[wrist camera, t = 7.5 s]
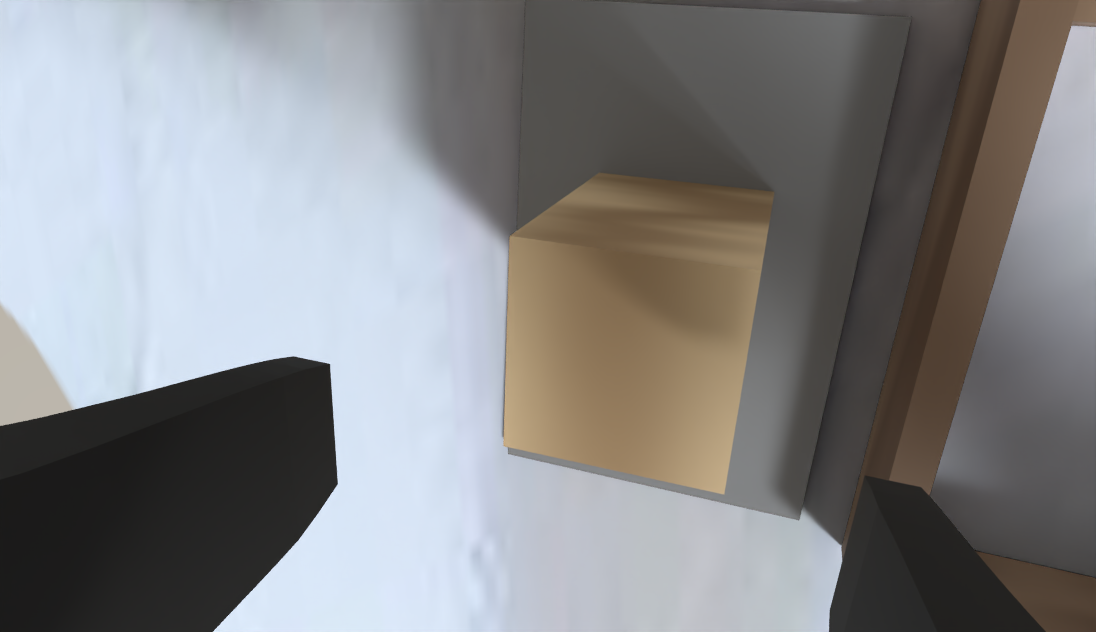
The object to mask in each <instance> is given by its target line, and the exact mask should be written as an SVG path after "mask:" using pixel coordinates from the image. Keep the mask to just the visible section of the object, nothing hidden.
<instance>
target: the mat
mask: <svg viewBox="0 0 1096 632" xmlns="http://www.w3.org/2000/svg"><path fill="white" fill-rule="evenodd" d="M911 19H912V17H905V16H885V15H866V14H846V13H827V12H808V11H788V10H769V9H749V8H730V7H711V6H691V5H672V4H652V3H633V2H614V1H594V0H526V1H525V27H524V53H523V78H522V104H521V130H520V156H519V182H518V208H517V230H519V229H520V228H522V227H523V226H524V225H526V224H527V223H529V222H530V221H532V220H533V219H534V218H536V217H537V216H539V215H540V214H541V213H543V212H544V211H546V210H547V209H549V208H550V207H551V206H553V205H554V204H556V203H557V202H558V201H560V200H561V199H563V198H564V197H566V196H567V195H568V194H570V193H571V192H573V191H574V190H575V189H577V188H578V187H580V186H581V185H583V184H584V183H585V182H587V181H588V180H590V179H591V178H592V177H594V176H595V175H597V174H598V173H607V174H616V175H625V176H634V177H644V178H653V179H662V180H671V181H680V182H690V183H699V184H708V185H717V186H726V187H736V188H745V189H754V190H763V191H772V192H774V198H773V204H772V210H771V216H770V222H769V228H768V234H767V240H766V246H765V252H764V258H763V264H762V270H761V276H760V282H759V288H758V294H757V300H756V307H755V313H754V319H753V325H752V331H751V337H750V343H749V349H748V355H747V361H746V367H745V373H744V379H743V385H742V391H741V397H740V403H739V409H738V415H737V421H736V427H735V433H734V439H733V445H732V451H731V457H730V463H729V469H728V475H727V481H726V487H725V493H724V494H719V493H715V492H710V491H706V490H701V489H696V488H692V487H687V486H683V485H678V484H674V483H669V482H665V481H660V480H655V479H651V478H646V477H642V476H637V475H633V474H628V473H624V472H619V471H614V470H610V469H605V468H601V467H596V466H592V465H587V464H583V463H578V462H573V461H569V460H564V459H560V458H555V457H551V456H546V455H542V454H537V453H532V452H528V451H523V450H519V449H514V448H510V447H508V454H511V455H515V456H519V457H524V458H528V459H533V460H537V461H541V462H546V463H550V464H554V465H559V466H563V467H568V468H572V469H576V470H581V471H585V472H590V473H594V474H598V475H603V476H607V477H611V478H616V479H620V480H625V481H629V482H633V483H638V484H642V485H647V486H651V487H655V488H660V489H664V490H668V491H673V492H677V493H682V494H686V495H690V496H695V497H699V498H703V499H708V500H712V501H717V502H721V503H725V504H730V505H734V506H739V507H743V508H747V509H752V510H756V511H760V512H765V513H769V514H774V515H778V516H782V517H787V518H791V519H796V520H799V519H800V515H801V510H802V506H803V501H804V497H805V493H806V488H807V484H808V479H809V475H810V470H811V466H812V461H813V457H814V452H815V448H816V443H817V439H818V434H819V430H820V426H821V421H822V417H823V412H824V408H825V403H826V399H827V394H828V390H829V385H830V381H831V376H832V372H833V368H834V363H835V359H836V354H837V350H838V345H839V341H840V336H841V332H842V327H843V323H844V318H845V314H846V310H847V305H848V301H849V296H850V292H851V287H852V283H853V278H854V274H855V269H856V265H857V260H858V256H859V252H860V247H861V243H862V238H863V234H864V229H865V225H866V220H867V216H868V211H869V207H870V202H871V198H872V193H873V189H874V185H875V180H876V176H877V171H878V167H879V162H880V158H881V153H882V149H883V144H884V140H885V135H886V131H887V127H888V122H889V118H890V113H891V109H892V104H893V100H894V95H895V91H896V86H897V82H898V77H899V73H900V69H901V64H902V60H903V55H904V51H905V46H906V42H907V37H908V33H909V28H910V24H911Z"/></svg>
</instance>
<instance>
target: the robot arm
mask: <svg viewBox="0 0 1096 632" xmlns="http://www.w3.org/2000/svg"><path fill="white" fill-rule="evenodd" d="M337 484H338V481H337V466H336V451H335V436H334V420H333V405H332V390H331V374H330V364H327V363H323V362H318V361H313V360H308V359H303V358H298V357H294V356H293V357H286V358H279V359H273V360H268V361H263V362H259V363H254V364H250V365H246V366H241V367H237V368H233V369H230V370H226V371H222V372H218V373H214V374H210V375H207V376H203V377H199V378H195V379H192V380H188V381H184V382H181V383H177V384H173V385H169V386H166V387H162V388H158V389H155V390H151V391H147V392H143V393H140V394H136V395H132V396H128V397H124V398H120V399H116V400H112V401H108V402H104V403H99V404H95V405H91V406H87V407H83V408H79V409H75V410H71V411H67V412H63V413H59V414H54V415H50V416H47V417H42V418H37V419H33V420H28V421H23V422H18V423H13V424H9V425H4V426H0V632H213V631H214V630H215V629H216V628H217V627H218V626H219V625H220V623H221V622H222V621H223V620H224V619H225V618H226V617H227V616H228V615H229V614H230V613H231V612H232V611H233V610H234V609H235V608H236V607H237V606H238V605H239V603H240V602H241V601H242V600H243V599H244V598H245V597H246V596H247V595H248V594H249V593H250V592H251V591H252V590H253V589H254V588H255V587H256V586H257V584H258V583H259V582H260V581H261V580H262V579H263V578H264V577H265V576H266V575H267V574H268V573H269V572H270V571H271V569H272V568H273V567H274V566H275V565H276V564H277V563H278V562H279V561H280V560H281V559H282V558H283V556H284V555H285V554H286V553H287V552H288V551H289V550H290V549H291V548H292V547H293V545H294V544H295V543H296V542H297V541H298V540H299V538H300V537H301V536H302V534H303V533H304V532H305V530H306V529H307V528H308V526H309V525H310V524H311V522H312V521H313V520H314V518H315V517H316V515H317V514H318V513H319V511H320V510H321V508H322V507H323V505H324V504H325V502H326V501H327V499H328V498H329V496H330V495H331V493H332V492H333V490H334V489H335V487H336V486H337ZM829 632H1046V631H1045V630H1044V629H1043V628H1042V627H1041V626H1040V625H1039V624H1038V623H1037V621H1036V620H1035V619H1034V618H1033V617H1032V616H1031V615H1030V614H1029V613H1028V611H1027V610H1026V609H1025V608H1024V607H1023V606H1022V605H1021V604H1020V603H1019V601H1018V600H1017V599H1016V598H1015V597H1014V596H1013V595H1012V593H1011V592H1010V591H1009V590H1008V589H1007V588H1006V587H1005V585H1004V584H1003V583H1002V582H1001V581H1000V580H999V579H998V577H997V576H996V575H995V574H994V573H993V572H992V570H991V569H990V568H989V567H988V566H987V565H986V563H985V562H984V561H983V560H982V559H981V557H980V556H979V555H978V554H977V553H976V551H975V550H974V549H973V548H972V547H971V545H970V544H969V543H968V542H967V541H966V539H965V538H964V537H963V536H962V535H961V533H960V532H959V531H958V530H957V529H956V527H955V526H954V525H953V524H952V523H951V521H950V520H949V519H948V518H947V516H946V515H945V514H944V513H943V512H942V510H941V509H940V508H939V507H938V506H937V504H936V503H935V502H934V501H933V500H932V499H931V497H930V496H929V495H928V494H927V493H926V492H925V491H924V490H923V488H922V487H919V486H914V485H909V484H904V483H899V482H894V481H890V480H885V479H880V478H875V477H870V476H866V475H865V476H864V480H863V484H862V488H861V491H860V495H859V499H858V503H857V507H856V511H855V515H854V519H853V523H852V526H851V530H850V534H849V538H848V542H847V546H846V550H845V554H844V557H843V561H842V565H841V569H840V573H839V577H838V581H837V585H836V588H835V592H834V596H833V600H832V604H831V608H830V619H829Z"/></svg>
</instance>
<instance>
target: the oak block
mask: <svg viewBox="0 0 1096 632" xmlns="http://www.w3.org/2000/svg"><path fill="white" fill-rule="evenodd" d="M773 198H774V192H772V191H763V190H754V189H745V188H736V187H726V186H717V185H708V184H699V183H690V182H680V181H671V180H662V179H653V178H644V177H634V176H625V175H616V174H607V173H598V174H597V175H595V176H594V177H592V178H591V179H590V180H588V181H587V182H585V183H584V184H583V185H581V186H580V187H578V188H577V189H575V190H574V191H573V192H571V193H570V194H568V195H567V196H566V197H564V198H563V199H561V200H560V201H558V202H557V203H556V204H554V205H553V206H551V207H550V208H549V209H547V210H546V211H544V212H543V213H541V214H540V215H539V216H537V217H536V218H534V219H533V220H532V221H530V222H529V223H527V224H526V225H524V226H523V227H522V228H520V229H519V230H517V231H516V232H515V233H513V234H512V235H510V237H509V271H508V306H507V341H506V376H505V411H504V446H505V447H510V448H514V449H519V450H523V451H528V452H532V453H537V454H542V455H546V456H551V457H555V458H560V459H564V460H569V461H573V462H578V463H583V464H587V465H592V466H596V467H601V468H605V469H610V470H614V471H619V472H624V473H628V474H633V475H637V476H642V477H646V478H651V479H655V480H660V481H665V482H669V483H674V484H678V485H683V486H687V487H692V488H696V489H701V490H706V491H710V492H715V493H719V494H724V493H725V487H726V481H727V475H728V469H729V463H730V457H731V451H732V445H733V439H734V433H735V427H736V421H737V415H738V409H739V403H740V397H741V391H742V385H743V379H744V373H745V367H746V361H747V355H748V349H749V343H750V337H751V331H752V325H753V319H754V313H755V307H756V300H757V294H758V288H759V282H760V276H761V270H762V264H763V258H764V252H765V246H766V240H767V234H768V228H769V222H770V216H771V210H772V204H773Z"/></svg>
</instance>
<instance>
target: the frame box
mask: <svg viewBox="0 0 1096 632" xmlns="http://www.w3.org/2000/svg"><path fill="white" fill-rule="evenodd" d="M1071 26H1089V27H1096V0H981V2H980V6H979V10H978V14H977V18H976V21H975V25H974V29H973V33H972V37H971V41H970V45H969V49H968V53H967V57H966V61H965V65H964V69H963V72H962V76H961V80H960V84H959V88H958V92H957V96H956V100H955V104H954V108H953V112H952V116H951V119H950V123H949V127H948V131H947V135H946V139H945V143H944V147H943V151H942V155H941V159H940V163H939V167H938V170H937V174H936V178H935V182H934V186H933V190H932V194H931V198H930V202H929V206H928V210H927V214H926V218H925V221H924V225H923V229H922V233H921V237H920V241H919V245H918V249H917V253H916V257H915V261H914V265H913V269H912V272H911V276H910V280H909V284H908V288H907V292H906V296H905V300H904V304H903V308H902V312H901V316H900V320H899V323H898V327H897V331H896V335H895V339H894V343H893V347H892V351H891V355H890V359H889V363H888V367H887V370H886V374H885V378H884V382H883V386H882V390H881V394H880V398H879V402H878V406H877V410H876V414H875V418H874V421H873V425H872V429H871V433H870V437H869V441H868V445H867V449H866V453H865V457H864V461H863V465H862V469H861V472H860V476H859V480H858V484H857V488H856V492H855V496H854V500H853V504H852V508H851V512H850V516H849V520H848V523H847V527H846V531H845V535H844V539H843V543H842V547H841V548H842V561H843V557H844V554H845V550H846V546H847V542H848V538H849V534H850V530H851V526H852V523H853V519H854V515H855V511H856V507H857V503H858V499H859V495H860V491H861V488H862V484H863V480H864V476H865V475H866V476H870V477H875V478H880V479H885V480H890V481H894V482H899V483H904V484H909V485H914V486H919V487H922V488H923V490H924V491H925V492H926V493H927V494H928V495H929V496H930V493H931V489H932V486H933V483H934V479H935V476H936V473H937V469H938V466H939V463H940V459H941V456H942V453H943V449H944V446H945V443H946V439H947V436H948V433H949V429H950V426H951V423H952V420H953V416H954V413H955V410H956V406H957V403H958V400H959V396H960V393H961V390H962V386H963V383H964V380H965V376H966V373H967V370H968V366H969V363H970V360H971V357H972V353H973V350H974V347H975V343H976V340H977V337H978V333H979V330H980V327H981V323H982V320H983V317H984V313H985V310H986V307H987V303H988V300H989V297H990V294H991V290H992V287H993V284H994V280H995V277H996V274H997V270H998V267H999V264H1000V260H1001V257H1002V254H1003V250H1004V247H1005V244H1006V240H1007V237H1008V234H1009V231H1010V227H1011V224H1012V221H1013V217H1014V214H1015V211H1016V207H1017V204H1018V201H1019V197H1020V194H1021V191H1022V187H1023V184H1024V181H1025V177H1026V174H1027V171H1028V168H1029V164H1030V161H1031V158H1032V154H1033V151H1034V148H1035V144H1036V141H1037V138H1038V134H1039V131H1040V128H1041V124H1042V121H1043V118H1044V114H1045V111H1046V108H1047V105H1048V101H1049V98H1050V95H1051V91H1052V88H1053V85H1054V81H1055V78H1056V75H1057V71H1058V68H1059V65H1060V61H1061V58H1062V55H1063V51H1064V48H1065V45H1066V42H1067V38H1068V35H1069V32H1070V28H1071ZM976 553H977V554H978V555H979V556H980V557H981V559H982V560H983V561H984V562H985V563H986V565H987V566H988V567H989V568H990V569H991V570H992V572H993V573H994V574H995V575H996V576H997V577H998V579H999V580H1000V581H1001V582H1002V583H1003V584H1004V585H1005V587H1006V588H1007V589H1008V590H1009V591H1010V592H1011V593H1012V595H1013V596H1014V597H1015V598H1016V599H1017V600H1018V601H1019V603H1020V604H1021V605H1022V606H1023V607H1024V608H1025V609H1026V610H1027V611H1028V613H1029V614H1030V615H1031V616H1032V617H1033V618H1034V619H1035V620H1036V621H1037V623H1038V624H1039V625H1040V626H1041V627H1042V628H1043V629H1044V630H1045V631H1046V632H1096V578H1094V577H1089V576H1085V575H1080V574H1076V573H1071V572H1067V571H1063V570H1058V569H1054V568H1049V567H1045V566H1040V565H1036V564H1031V563H1027V562H1023V561H1018V560H1014V559H1009V558H1005V557H1000V556H996V555H991V554H987V553H983V552H978V551H976Z"/></svg>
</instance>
